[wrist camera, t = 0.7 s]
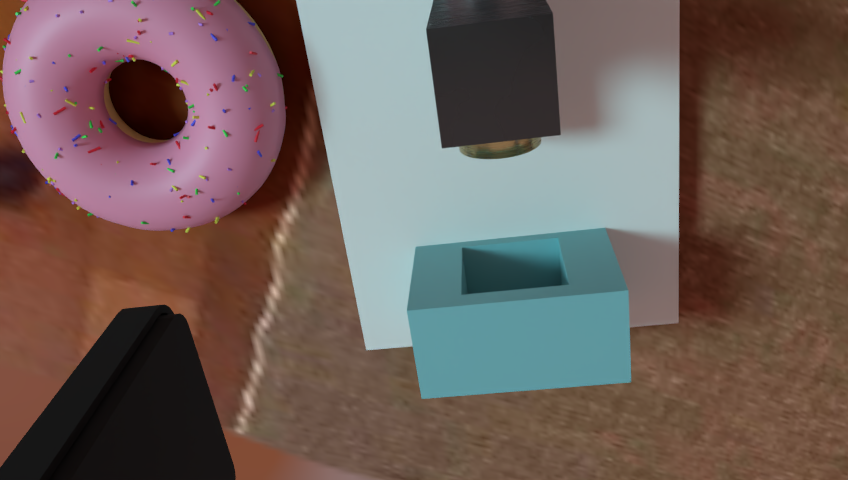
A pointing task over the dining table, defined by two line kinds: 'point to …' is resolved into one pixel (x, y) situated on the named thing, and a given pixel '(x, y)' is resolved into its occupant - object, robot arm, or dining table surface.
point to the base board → (508, 177)
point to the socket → (519, 314)
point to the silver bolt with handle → (494, 75)
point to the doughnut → (113, 139)
